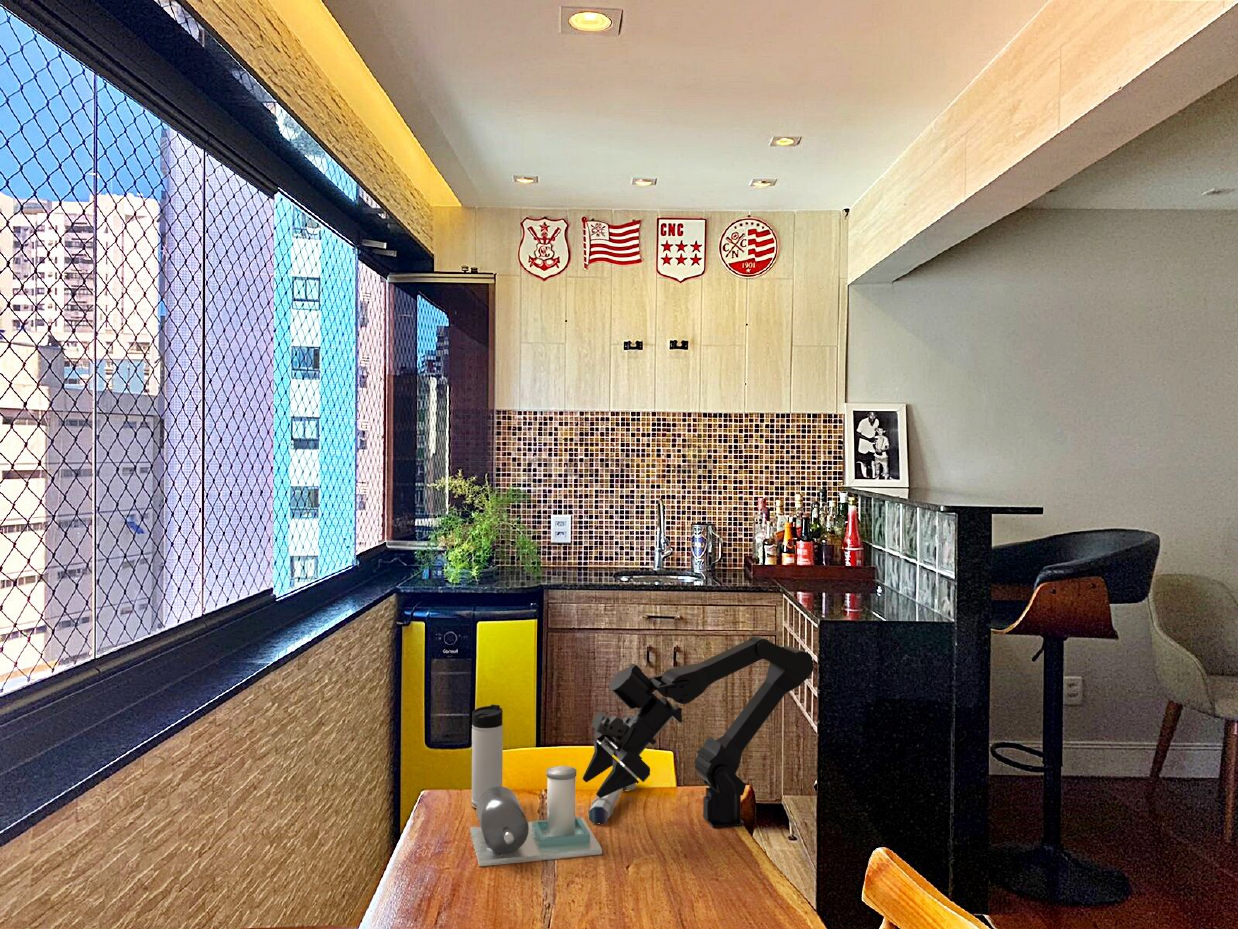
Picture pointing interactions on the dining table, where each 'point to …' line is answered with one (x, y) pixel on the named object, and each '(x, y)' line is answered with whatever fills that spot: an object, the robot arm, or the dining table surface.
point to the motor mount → (522, 834)
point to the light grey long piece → (605, 805)
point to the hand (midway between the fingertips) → (591, 788)
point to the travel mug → (486, 750)
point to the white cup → (560, 801)
